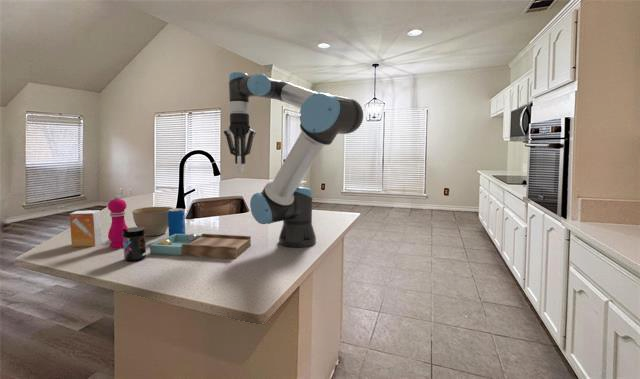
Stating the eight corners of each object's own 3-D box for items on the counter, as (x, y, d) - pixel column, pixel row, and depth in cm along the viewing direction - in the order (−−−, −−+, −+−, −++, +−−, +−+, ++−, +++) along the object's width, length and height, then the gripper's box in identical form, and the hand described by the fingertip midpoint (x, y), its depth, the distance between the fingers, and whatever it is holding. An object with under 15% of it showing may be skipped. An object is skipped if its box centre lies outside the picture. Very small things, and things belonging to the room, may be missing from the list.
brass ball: (163, 237, 122) (164, 246, 123) (156, 241, 118) (157, 251, 119) (173, 237, 121) (174, 247, 123) (166, 242, 118) (168, 252, 119)
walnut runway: (250, 245, 129) (250, 236, 128) (235, 258, 114) (235, 247, 113) (202, 243, 131) (202, 233, 131) (182, 255, 117) (181, 244, 116)
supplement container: (129, 256, 115) (127, 227, 114) (149, 255, 116) (147, 226, 115) (120, 262, 109) (118, 232, 107) (142, 261, 110) (140, 231, 108)
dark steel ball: (195, 230, 130) (188, 236, 130) (190, 233, 126) (182, 239, 126) (201, 238, 130) (194, 244, 130) (196, 241, 126) (189, 247, 126)
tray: (203, 242, 132) (203, 235, 132) (181, 255, 116) (181, 247, 116) (175, 241, 134) (175, 233, 133) (150, 253, 118) (149, 245, 117)
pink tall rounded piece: (134, 245, 128) (131, 194, 125) (116, 250, 121) (113, 196, 119) (122, 242, 131) (119, 193, 128) (104, 247, 124) (100, 195, 122)
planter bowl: (181, 232, 148) (180, 208, 146) (146, 240, 134) (145, 214, 133) (161, 227, 156) (160, 204, 155) (126, 234, 143) (124, 210, 141)
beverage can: (179, 239, 136) (178, 211, 135) (165, 238, 137) (164, 210, 136) (188, 235, 142) (187, 208, 141) (175, 234, 144) (174, 207, 142)
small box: (71, 247, 124) (68, 213, 122) (79, 242, 130) (77, 210, 128) (95, 246, 126) (93, 213, 124) (102, 241, 132) (100, 209, 130)
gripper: (258, 114, 134) (258, 171, 137) (227, 114, 136) (229, 171, 139) (251, 112, 127) (252, 173, 130) (220, 112, 129) (221, 172, 132)
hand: (240, 171), depth 134 cm, fingers closed
